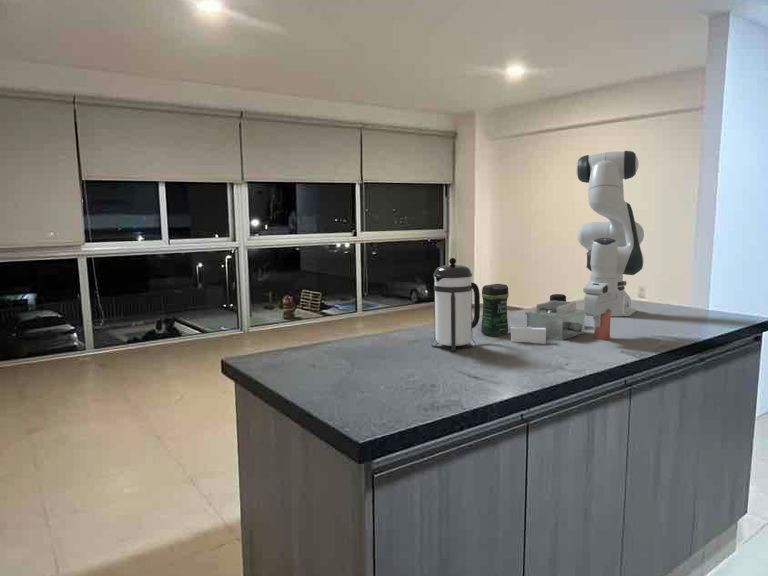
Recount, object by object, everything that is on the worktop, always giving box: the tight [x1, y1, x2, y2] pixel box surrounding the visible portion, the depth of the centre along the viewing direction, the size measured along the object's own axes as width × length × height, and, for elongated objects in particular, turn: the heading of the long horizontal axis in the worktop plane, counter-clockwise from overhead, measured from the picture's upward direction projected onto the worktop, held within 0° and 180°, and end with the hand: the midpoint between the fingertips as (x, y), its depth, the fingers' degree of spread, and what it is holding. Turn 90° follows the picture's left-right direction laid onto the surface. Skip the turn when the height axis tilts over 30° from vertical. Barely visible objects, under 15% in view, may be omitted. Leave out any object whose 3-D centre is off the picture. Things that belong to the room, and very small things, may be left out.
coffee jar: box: [480, 283, 509, 337], centre depth 199 cm, size 10×8×19 cm
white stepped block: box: [510, 326, 547, 344], centre depth 186 cm, size 15×11×6 cm
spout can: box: [593, 309, 612, 341], centre depth 188 cm, size 5×5×13 cm
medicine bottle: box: [549, 293, 567, 302], centre depth 213 cm, size 7×7×12 cm
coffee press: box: [430, 257, 481, 352], centre depth 183 cm, size 17×16×30 cm
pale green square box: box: [524, 300, 586, 341], centre depth 197 cm, size 17×18×11 cm
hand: (602, 325), depth 189 cm, fingers closed on spout can, 5 cm apart
